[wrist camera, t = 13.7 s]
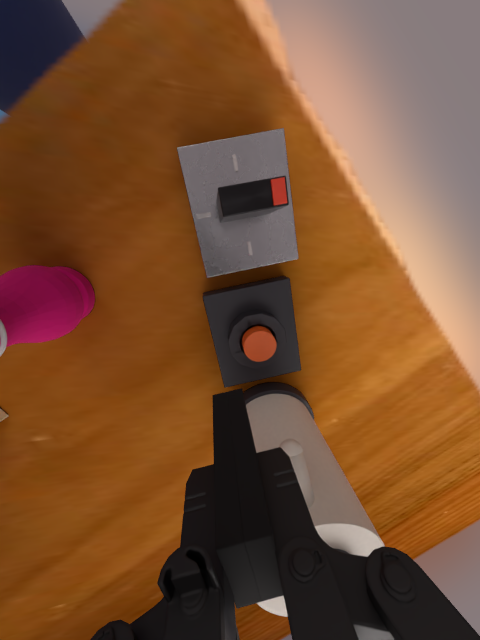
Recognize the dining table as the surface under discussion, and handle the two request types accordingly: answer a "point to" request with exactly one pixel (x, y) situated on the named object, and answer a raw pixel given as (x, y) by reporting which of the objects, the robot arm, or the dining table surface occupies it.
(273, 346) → the red push button
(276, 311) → the push button box
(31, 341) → the pepper mill
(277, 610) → the kettle
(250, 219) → the lever switch base
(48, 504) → the dining table surface
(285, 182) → the black switch lever
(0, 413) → the sandwich container
